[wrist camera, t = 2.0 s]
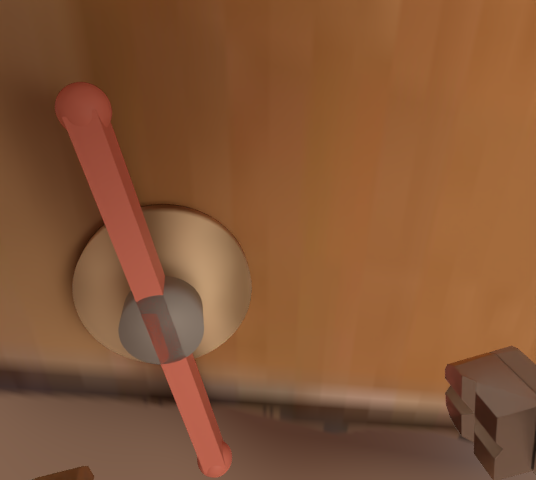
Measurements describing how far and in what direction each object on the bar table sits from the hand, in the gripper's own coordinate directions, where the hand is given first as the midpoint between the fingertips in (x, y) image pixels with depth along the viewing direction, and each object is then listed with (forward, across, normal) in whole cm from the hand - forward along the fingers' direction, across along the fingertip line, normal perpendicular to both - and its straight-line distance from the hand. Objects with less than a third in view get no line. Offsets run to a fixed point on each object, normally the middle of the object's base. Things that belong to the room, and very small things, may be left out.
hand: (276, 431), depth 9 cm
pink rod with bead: (+18, +5, +7) cm, 20 cm away
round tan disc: (+21, +5, +7) cm, 23 cm away
